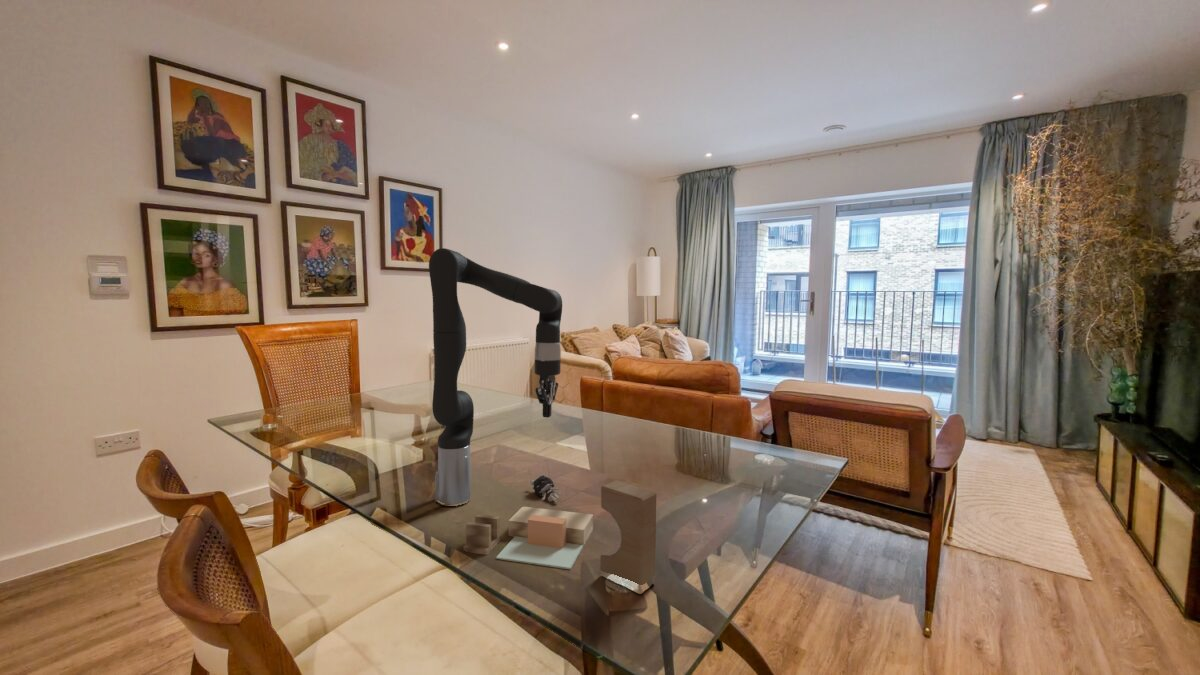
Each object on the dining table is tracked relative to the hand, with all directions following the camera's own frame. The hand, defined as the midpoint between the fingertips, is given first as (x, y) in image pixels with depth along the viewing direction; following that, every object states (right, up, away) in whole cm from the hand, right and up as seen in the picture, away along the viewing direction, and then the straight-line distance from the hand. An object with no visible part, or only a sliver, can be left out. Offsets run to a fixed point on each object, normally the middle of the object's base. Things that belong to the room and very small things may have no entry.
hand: (546, 416), depth 136 cm
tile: (+3, -24, -20) cm, 32 cm away
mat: (+1, -28, -25) cm, 38 cm away
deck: (+3, -28, -15) cm, 32 cm away
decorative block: (+21, -29, -36) cm, 51 cm away
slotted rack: (-13, -28, -22) cm, 38 cm away
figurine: (-1, -27, +10) cm, 28 cm away
